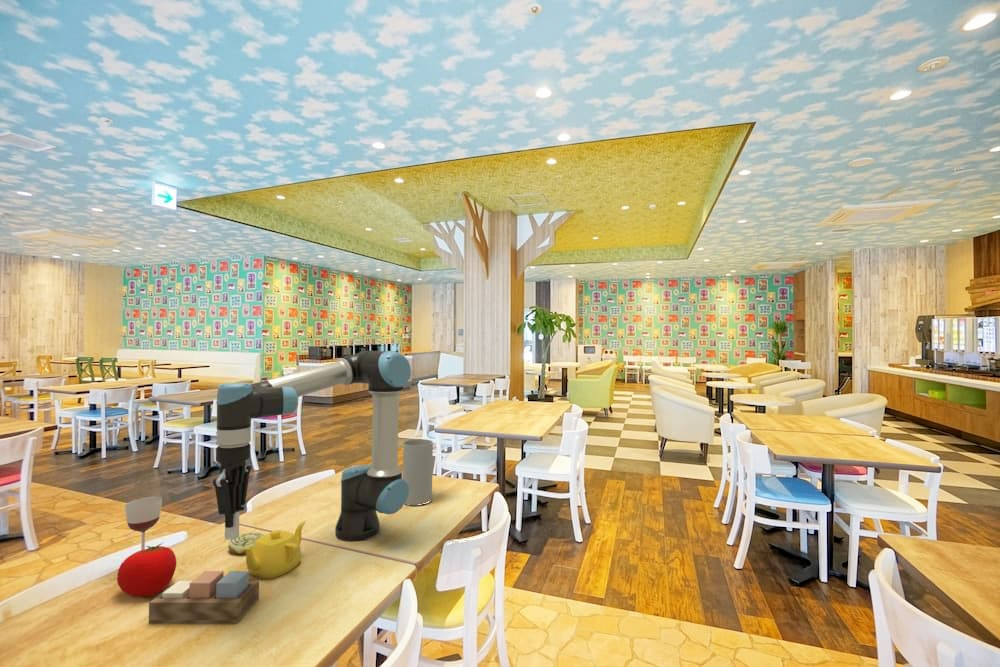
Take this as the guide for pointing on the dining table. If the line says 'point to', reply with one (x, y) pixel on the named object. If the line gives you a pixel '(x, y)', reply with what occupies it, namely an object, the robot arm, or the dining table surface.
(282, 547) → the teapot
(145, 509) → the wineglass
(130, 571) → the tomato
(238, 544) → the decorated donut
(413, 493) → the cylinder vase
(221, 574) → the terracotta key
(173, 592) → the ivory key
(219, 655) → the dining table surface
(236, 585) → the slate key
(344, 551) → the dining table surface
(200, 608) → the key block
